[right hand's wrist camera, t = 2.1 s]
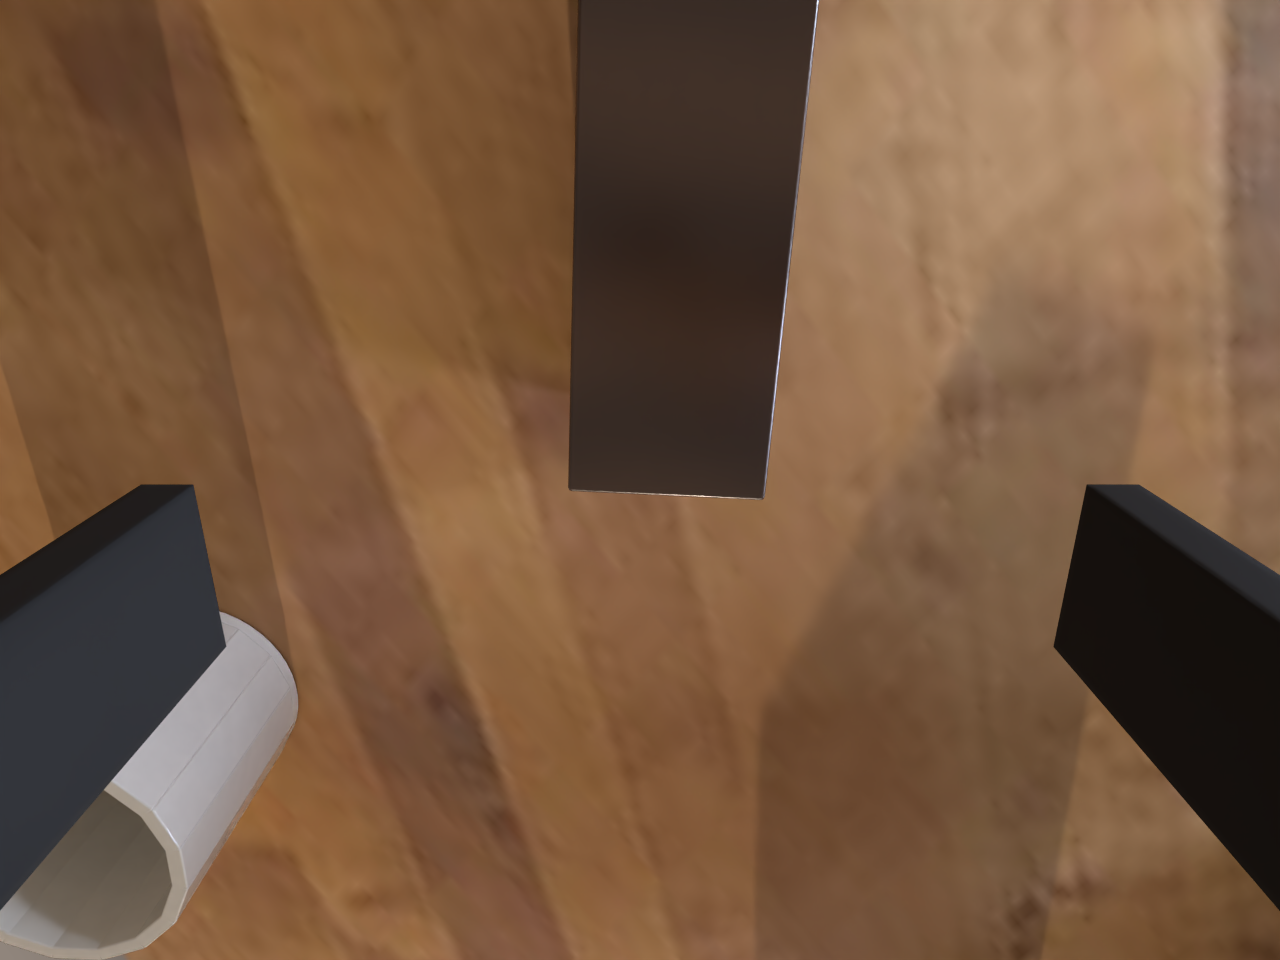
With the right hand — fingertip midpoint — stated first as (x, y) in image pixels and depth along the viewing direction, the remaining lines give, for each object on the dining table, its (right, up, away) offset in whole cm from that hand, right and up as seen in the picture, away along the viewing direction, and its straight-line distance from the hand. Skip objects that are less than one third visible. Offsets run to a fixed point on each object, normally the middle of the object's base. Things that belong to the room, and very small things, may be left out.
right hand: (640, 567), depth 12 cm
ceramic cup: (-18, -7, +21) cm, 29 cm away
